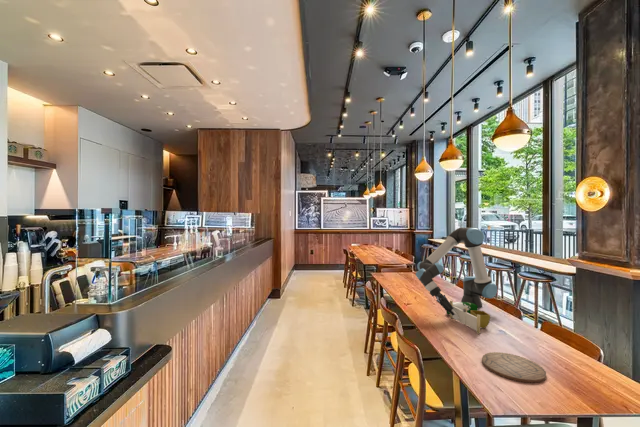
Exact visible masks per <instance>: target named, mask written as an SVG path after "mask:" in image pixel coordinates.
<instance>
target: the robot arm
mask: <svg viewBox="0 0 640 427" xmlns="http://www.w3.org/2000/svg"><path fill="white" fill-rule="evenodd" d="M484 239H485V236H484V233H483V231H481V230H480V229H479V228H475V227H464V226H462V227H459V228H456V229H454V230H453V231H452V232H450V234H448V235H447V237H446V239H445V240H444V241H443V242H442V243H441V244H440V245H439V246H438V247H437V248H436V249H435V250H433V252H431V254H430V255H429V256H428V257H426V258H425V259H424V260H423V261H419V262H418V263H417V264H416V267H417V270H418V271H416V272H415V276H416V278H417V279H418V280H419V281H420V283H421V284H422V285H423V286H424V287H425V290H426V291H428V292H429V294H430V295H431V297H435V299H436V302H437V303H438V304H439V305H440V306H441V307H442V308H443V309H444V310H445V312H446V311H447V312H450V314H451V315H452V316H453V317H454V318H453V320H455V321H457V319H459V318H460V317H459V316H458V315H457V314H456V312H455V311H454V310H453V307H452V305H451V304H450V300H448V298H447V297H446V295H445V294H443V293H442V292H441V291H442V289H441V288H440V287H439V286H438V284H437V283H436V282H435V281H434V278H436V277H437V276H439V275H440V274H442V273H443V272H444V269H445V268H444V266H443V265H442V264H441V263H440V260H441V259H442V258H444V257H445V256H446V255H447V254H448V253H449V252H450V251H451V250H452V249H453V248H454V247H456V246H458V245H459V244H461V243H463V245H464V247H465V248H466V249H467V251H468V255H469V257H470V258H469V259H470V262H471V266H472V270H473V273H474V276H464V277H463V279H462V280H463V281H462V282H463V283H462V284H463V285H462V286H463V288H462V289H463V294H462V298H461V301H460V302H468V303H473V304H476V305H477V308H478V309H481V308H483V303H482V302H483V301H482V299H481V297H483V298H485V299H486V298H487V299H493V298H494V297H496V296H497V292H498V285H496V284H495V283H493V281H492V277H490V276H489V275H488V274H489V273H488V271H487V270H488V269H487V267H486V264H485V259H484V255H483V251H482V245H483V242H484ZM447 312H446V313H447Z"/></svg>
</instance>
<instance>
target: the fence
mask: <svg viewBox="0 0 640 427" xmlns="http://www.w3.org/2000/svg"><path fill="white" fill-rule="evenodd" d="M449 302H450V304H451V305H452V307H453V302H454V301H453V300H449ZM464 309H466V312H467V308H464ZM449 318H450V319H453V320H454V318H453V316H452V315H451V314H450V315H449ZM463 325H464V326H467V327H469V328H470V329H472V330H473V331H475V332H476V334H478V335H480V334H481V328H480V315H477V317H475V316H473V315H471V314H469V313H466V325H465V324H463Z"/></svg>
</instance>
